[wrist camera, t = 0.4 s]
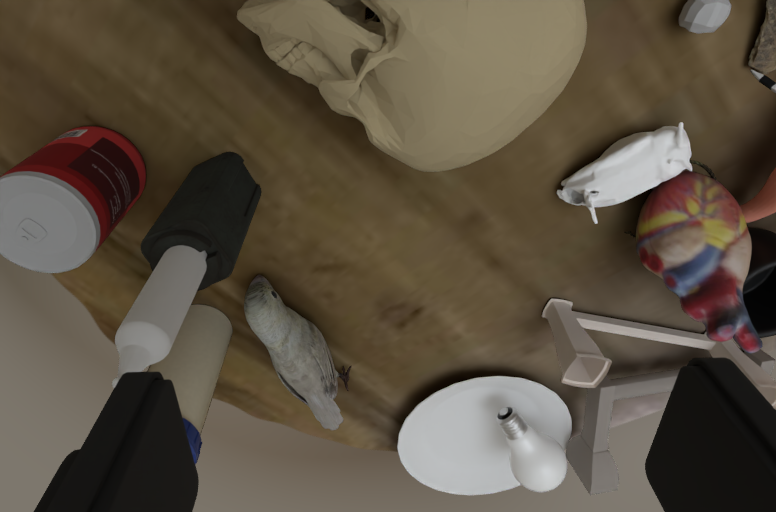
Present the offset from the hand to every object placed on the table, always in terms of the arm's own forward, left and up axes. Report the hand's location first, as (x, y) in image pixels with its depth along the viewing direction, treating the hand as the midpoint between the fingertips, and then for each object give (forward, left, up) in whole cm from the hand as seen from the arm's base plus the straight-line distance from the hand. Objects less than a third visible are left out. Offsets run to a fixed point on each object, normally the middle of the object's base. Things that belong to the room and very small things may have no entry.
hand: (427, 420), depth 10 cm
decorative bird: (+25, +15, -38) cm, 48 cm away
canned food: (+24, -9, -38) cm, 46 cm away
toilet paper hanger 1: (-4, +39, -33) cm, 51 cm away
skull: (-2, -10, -31) cm, 32 cm away
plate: (+20, +41, -38) cm, 59 cm away
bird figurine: (-5, +20, -34) cm, 40 cm away
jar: (+32, +8, -38) cm, 50 cm away
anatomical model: (-12, +29, -38) cm, 49 cm away
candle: (+18, 0, -38) cm, 42 cm away
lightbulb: (+15, +37, -34) cm, 52 cm away
